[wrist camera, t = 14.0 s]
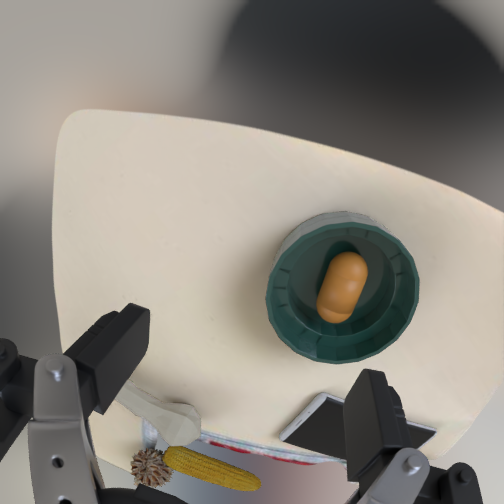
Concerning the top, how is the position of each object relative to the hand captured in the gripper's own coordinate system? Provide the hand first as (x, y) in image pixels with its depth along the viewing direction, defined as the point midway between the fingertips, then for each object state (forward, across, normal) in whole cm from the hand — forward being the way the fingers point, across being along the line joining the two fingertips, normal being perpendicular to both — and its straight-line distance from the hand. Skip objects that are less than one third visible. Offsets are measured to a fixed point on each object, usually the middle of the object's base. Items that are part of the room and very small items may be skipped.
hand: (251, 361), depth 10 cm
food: (+24, -1, +51) cm, 56 cm away
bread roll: (+24, -8, +6) cm, 26 cm away
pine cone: (+24, +13, +61) cm, 66 cm away
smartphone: (+24, -24, +32) cm, 47 cm away
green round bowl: (+24, -8, +6) cm, 26 cm away
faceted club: (+24, +15, +34) cm, 44 cm away
